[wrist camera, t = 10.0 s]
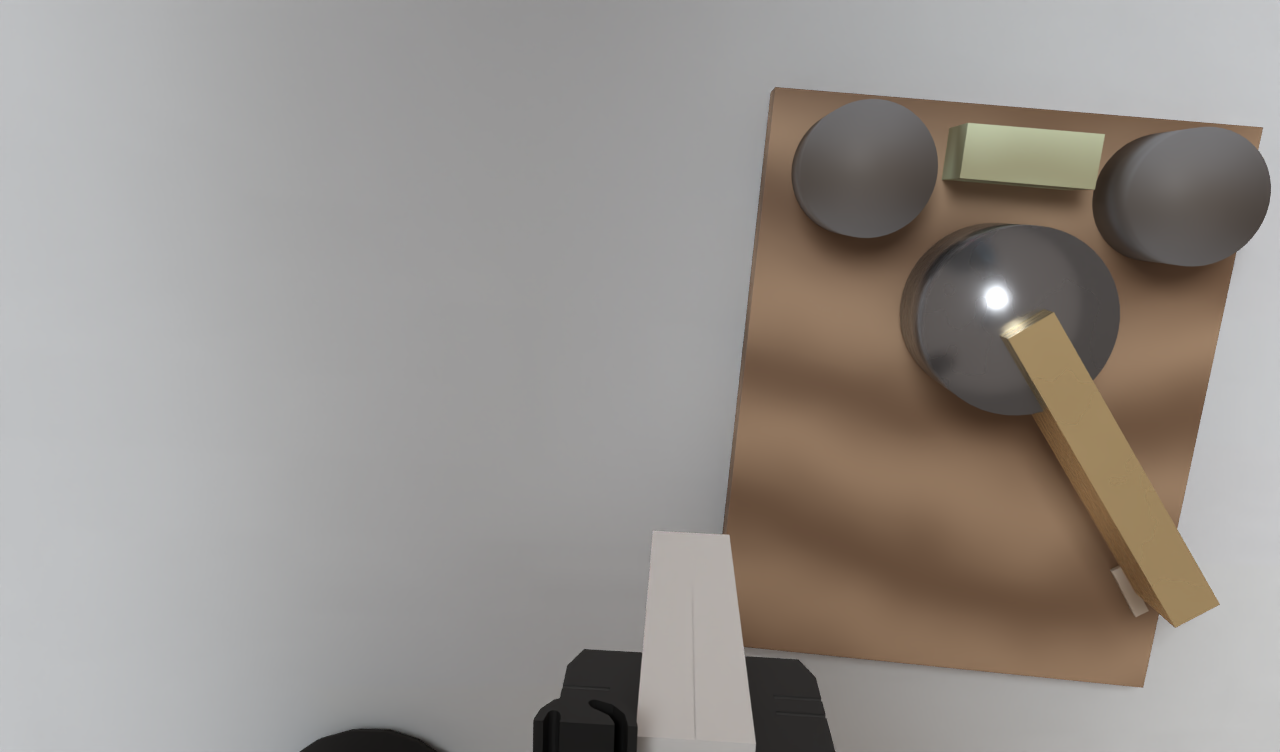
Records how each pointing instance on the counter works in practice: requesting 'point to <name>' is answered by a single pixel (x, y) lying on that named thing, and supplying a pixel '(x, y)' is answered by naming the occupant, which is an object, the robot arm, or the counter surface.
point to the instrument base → (934, 416)
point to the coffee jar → (368, 742)
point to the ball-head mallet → (1049, 380)
